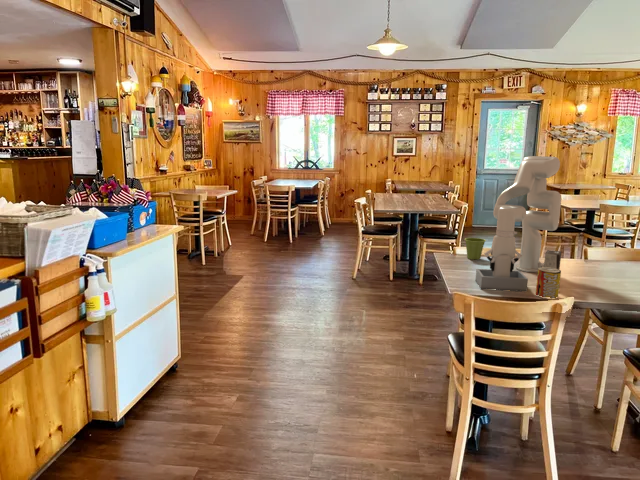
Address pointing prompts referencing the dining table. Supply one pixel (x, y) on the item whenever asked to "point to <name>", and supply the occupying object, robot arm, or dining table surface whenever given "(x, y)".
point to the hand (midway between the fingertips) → (501, 270)
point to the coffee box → (552, 259)
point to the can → (502, 266)
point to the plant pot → (474, 247)
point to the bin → (501, 280)
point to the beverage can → (548, 282)
